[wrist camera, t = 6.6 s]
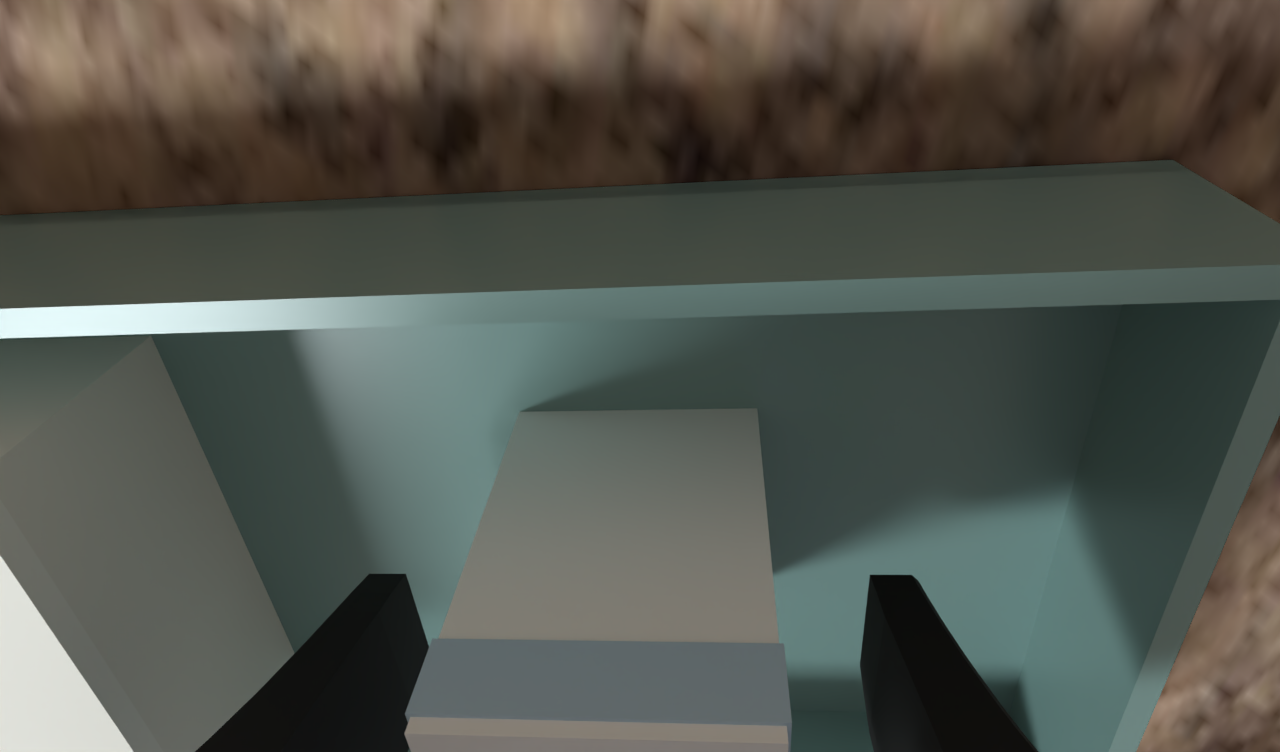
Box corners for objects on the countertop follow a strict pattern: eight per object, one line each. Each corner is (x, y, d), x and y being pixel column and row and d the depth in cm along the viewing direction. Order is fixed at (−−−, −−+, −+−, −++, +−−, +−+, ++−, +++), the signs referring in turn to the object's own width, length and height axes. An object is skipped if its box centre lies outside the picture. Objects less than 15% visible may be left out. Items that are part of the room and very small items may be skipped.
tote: (1018, 705, 17) (1082, 877, 14) (70, 688, 19) (-45, 833, 16) (1171, 160, 11) (1344, 262, 8) (-253, 227, 13) (-532, 327, 10)
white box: (295, 655, 17) (195, 842, 14) (85, 652, 18) (-62, 832, 14) (151, 335, 13) (-42, 492, 10) (-119, 343, 14) (-392, 496, 10)
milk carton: (757, 583, 15) (782, 936, 10) (547, 581, 16) (468, 920, 10) (760, 405, 13) (793, 740, 8) (516, 409, 13) (398, 730, 8)
